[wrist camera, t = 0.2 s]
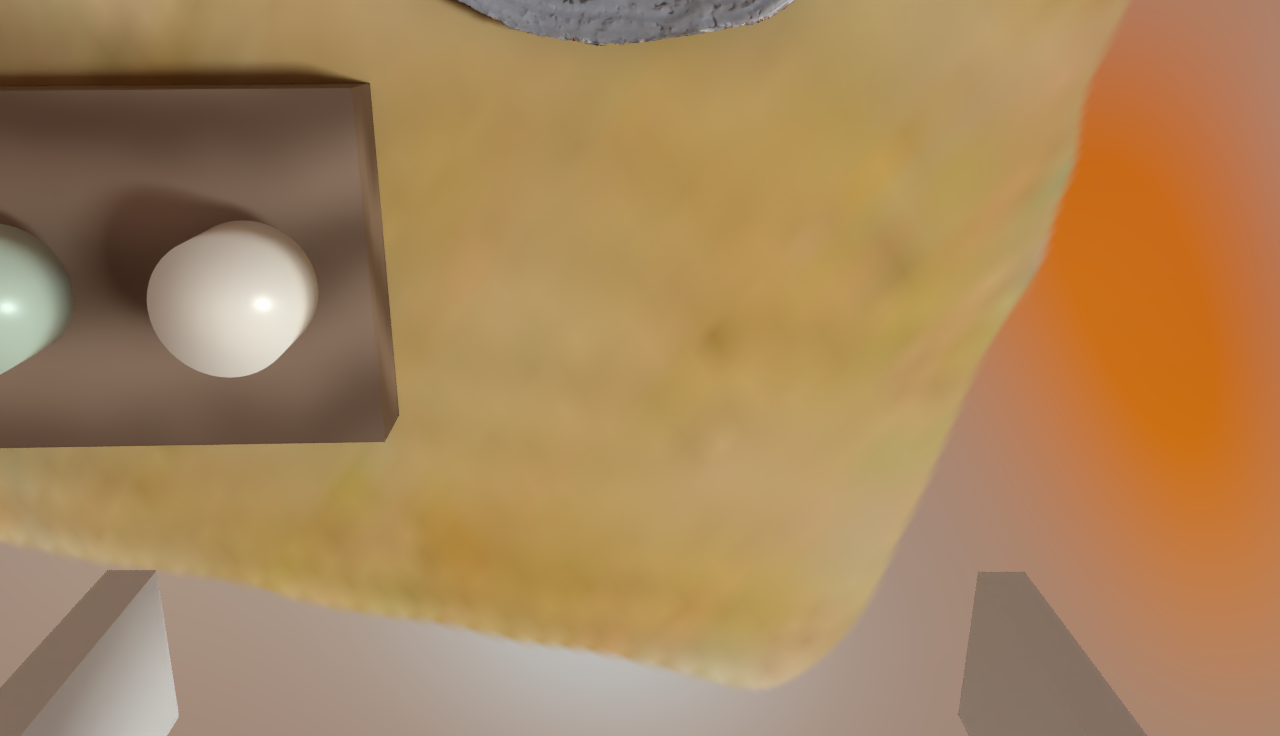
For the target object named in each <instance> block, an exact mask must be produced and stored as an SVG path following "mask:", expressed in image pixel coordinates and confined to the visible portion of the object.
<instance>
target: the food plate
mask: <svg viewBox="0 0 1280 736" xmlns="http://www.w3.org/2000/svg"><path fill="white" fill-rule="evenodd" d="M458 1H459V2H463V3H466V4H467V5H471V8H474V9H475V10H478V11H479V12H480V13H483V14H486V15H487V16H488V17H489V16H491V17H492V18H493V19H494V20H495V19H498V20H499V21H502V22H503V25H507V26H508V27H509V29H514V28H515V29H520V31H523V32H528V33H529V32H530V31H531V33H532V34H536V35H537V36H547V37H553V38H556V39H557V38H558V39H561V40H573V41H578V42H584V43H585V44H592V45H596V46H606V45H600V43H601V44H607V43H612V42H613V43H614V44H617V43H619V44H623V45H624V43H626V42H629V43H630V44H631V43H640V42H649V41H655V40H661V39H664V38H665V39H666V38H671V37H680V36H688V35H694V34H700V33H705V32H712V31H717V30H722V29H726V28H733V27H740V26H741V25H753V23H759V21H763V20H766V19H768V18H771V16H772V15H775V14H777V12H779V11H780V10H783V9H785V8H786V7H787V6H788V5H789V4H790V3H791V2H794V0H458ZM730 26H731V27H730ZM594 43H598V44H594Z"/></svg>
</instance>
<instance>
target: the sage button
mask: <svg viewBox="0 0 1280 736" xmlns="http://www.w3.org/2000/svg"><path fill="white" fill-rule="evenodd" d="M73 308H74V295H73V288H72V284H71V281H70V278H69V276H68V273H67V271H66V269H65V267H64V266H63V264H62V262H61V261H60V260H59V258H58V257H57V256H56V254H55V253H54V252H53V251H52V250H51V249H50V248H49V247H48V246H47V245H46V244H45V243H43V242H42V241H41V240H39V239H38V238H37V237H35V236H33V235H32V234H30V233H28V232H26V231H24V230H21V229H19V228H16V227H13V226H9V225H4V224H0V374H2V373H4V372H6V371H8V370H9V369H11V368H13V367H14V366H16V365H18V364H20V363H21V362H23V361H25V360H26V359H28V358H30V357H32V356H33V355H35V354H37V353H38V352H40V351H42V350H44V349H45V348H47V347H49V346H50V345H52V344H53V343H54V342H56V341H57V340H58V339H59V338H60V337H61V336H62V335H63V333H64V332H65V330H66V329H67V327H68V325H69V323H70V320H71V317H72V314H73Z"/></svg>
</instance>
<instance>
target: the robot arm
mask: <svg viewBox="0 0 1280 736" xmlns="http://www.w3.org/2000/svg"><path fill="white" fill-rule="evenodd" d="M958 715H959V717H960V719H961V721H962V723H963V725H964V727H965V729H966V731H967V733H968V735H969V736H1147V735H1146V733H1145V732H1144V731H1143V729H1142V728H1141V727H1140V725H1139V724H1138V723H1137V721H1136V720H1135V719H1134V717H1133V716H1132V715H1131V713H1130V712H1129V711H1128V709H1127V708H1126V707H1125V705H1124V704H1123V703H1122V701H1121V700H1120V699H1119V697H1118V696H1117V695H1116V693H1115V692H1114V691H1113V689H1112V688H1111V687H1110V685H1109V684H1108V683H1107V681H1106V680H1105V679H1104V677H1103V676H1102V675H1101V673H1100V672H1099V671H1098V669H1097V668H1096V667H1095V665H1094V664H1093V663H1092V661H1091V660H1090V658H1089V657H1088V656H1087V655H1086V653H1085V652H1084V650H1083V649H1082V648H1081V646H1080V645H1079V644H1078V643H1077V641H1076V640H1075V638H1074V637H1073V636H1072V635H1071V633H1070V632H1069V630H1068V629H1067V628H1066V626H1065V625H1064V624H1063V622H1062V621H1061V620H1060V618H1059V617H1058V616H1057V614H1056V613H1055V612H1054V610H1053V609H1052V608H1051V606H1050V605H1049V604H1048V602H1047V601H1046V600H1045V598H1044V597H1043V596H1042V594H1041V593H1040V592H1039V590H1038V589H1037V588H1036V586H1035V585H1034V584H1033V582H1032V581H1031V580H1030V578H1029V577H1028V576H1027V574H1026V573H1025V572H978V577H977V584H976V591H975V598H974V605H973V612H972V620H971V627H970V634H969V641H968V648H967V655H966V663H965V670H964V678H963V684H962V691H961V698H960V706H959V713H958ZM178 717H179V714H178V707H177V701H176V694H175V688H174V681H173V674H172V668H171V661H170V655H169V648H168V641H167V635H166V629H165V622H164V615H163V609H162V602H161V595H160V589H159V582H158V575H157V570H107V572H106V573H105V574H104V575H103V576H102V577H101V578H100V579H99V580H98V581H97V582H96V584H95V585H94V586H93V587H92V588H91V589H90V590H89V591H88V592H87V593H86V594H85V596H84V597H83V598H82V599H81V600H80V601H79V602H78V603H77V604H76V605H75V607H74V608H73V609H72V610H71V611H70V612H69V613H68V614H67V615H66V616H65V617H64V619H63V620H62V621H61V622H60V623H59V624H58V625H57V626H56V627H55V628H54V629H53V631H52V632H51V633H50V634H49V635H48V636H47V637H46V638H45V639H44V640H43V642H42V643H41V644H40V645H39V646H38V647H37V648H36V649H35V650H34V651H33V652H32V654H31V655H30V656H29V657H28V658H27V659H26V660H25V661H24V662H23V663H22V665H21V666H20V667H19V668H18V669H17V670H16V671H15V672H14V673H13V674H12V676H11V677H10V678H9V679H8V680H7V681H6V682H5V683H4V684H3V685H2V686H1V688H0V736H167V735H168V733H169V732H170V730H171V728H172V727H173V725H174V723H175V722H176V720H177V719H178Z"/></svg>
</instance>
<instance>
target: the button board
mask: <svg viewBox="0 0 1280 736" xmlns="http://www.w3.org/2000/svg"><path fill="white" fill-rule="evenodd" d="M239 220H245V221H255V222H260V223H263V224H266V225H269V226H272V227H274V228H276V229H278V230H280V231H281V232H283V233H285V234H286V235H287V236H289V237H290V238H291V239H293V240H294V241H295V242H296V243H297V244H298V245H299V246H300V247H301V249H302V250H303V251H304V252H305V254H306V255H307V257H308V258H309V260H310V262H311V264H312V266H313V268H314V271H315V274H316V277H317V283H318V294H319V295H318V304H317V308H316V312H315V315H314V317H313V319H312V321H311V323H310V325H309V326H308V327H307V329H306V330H305V331H304V332H303V333H302V334H301V335H300V336H299V337H298V339H297V340H296V341H295V342H294V343H293V344H292V345H291V346H290V347H289V348H288V349H287V350H286V351H285V352H284V353H283V354H282V355H281V356H280V357H279V358H278V359H277V360H276V361H275V362H274V363H272V364H271V365H269V366H268V367H267V368H265V369H263V370H261V371H259V372H257V373H254V374H251V375H247V376H242V377H233V378H228V377H217V376H212V375H208V374H205V373H202V372H199V371H197V370H195V369H193V368H191V367H189V366H187V365H185V364H184V363H183V362H181V361H180V360H178V359H177V358H176V357H175V356H174V355H173V354H171V353H170V352H169V351H168V349H167V348H166V347H165V346H164V345H163V344H162V342H161V341H160V339H159V338H158V336H157V334H156V332H155V331H154V329H153V326H152V324H151V321H150V318H149V314H148V309H147V289H148V284H149V280H150V277H151V275H152V273H153V271H154V269H155V267H156V265H157V264H158V263H159V261H160V260H161V259H162V258H163V257H164V256H165V255H166V254H167V253H168V252H169V251H170V250H172V249H173V248H174V247H176V246H178V245H180V244H182V243H184V242H186V241H188V240H189V239H191V238H193V237H195V236H197V235H199V234H201V233H203V232H205V231H207V230H208V229H210V228H212V227H214V226H216V225H219V224H222V223H225V222H230V221H239ZM0 224H4V225H9V226H13V227H16V228H19V229H21V230H24V231H26V232H28V233H30V234H32V235H33V236H35V237H37V238H38V239H39V240H41V241H42V242H43V243H45V244H46V245H47V246H48V247H49V248H50V249H51V250H52V251H53V252H54V253H55V254H56V256H57V257H58V258H59V260H60V261H61V262H62V264H63V266H64V267H65V269H66V271H67V273H68V276H69V278H70V281H71V284H72V288H73V295H74V308H73V314H72V317H71V320H70V323H69V325H68V327H67V329H66V330H65V332H64V333H63V335H62V336H61V337H60V338H59V339H58V340H57V341H56V342H54V343H53V344H52V345H50V346H49V347H47V348H45V349H44V350H42V351H40V352H38V353H37V354H35V355H33V356H32V357H30V358H28V359H26V360H25V361H23V362H21V363H20V364H18V365H16V366H14V367H13V368H11V369H9V370H8V371H6V372H4V373H2V374H0V448H35V447H97V446H158V445H220V444H281V443H343V442H385V440H386V438H387V437H388V435H389V433H390V431H391V429H392V427H393V425H394V423H395V422H396V420H397V418H398V416H399V409H398V398H397V387H396V375H395V364H394V353H393V341H392V330H391V319H390V307H389V296H388V285H387V273H386V262H385V251H384V239H383V228H382V217H381V205H380V194H379V183H378V171H377V160H376V149H375V137H374V126H373V115H372V103H371V92H370V83H332V84H210V85H88V86H0Z"/></svg>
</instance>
